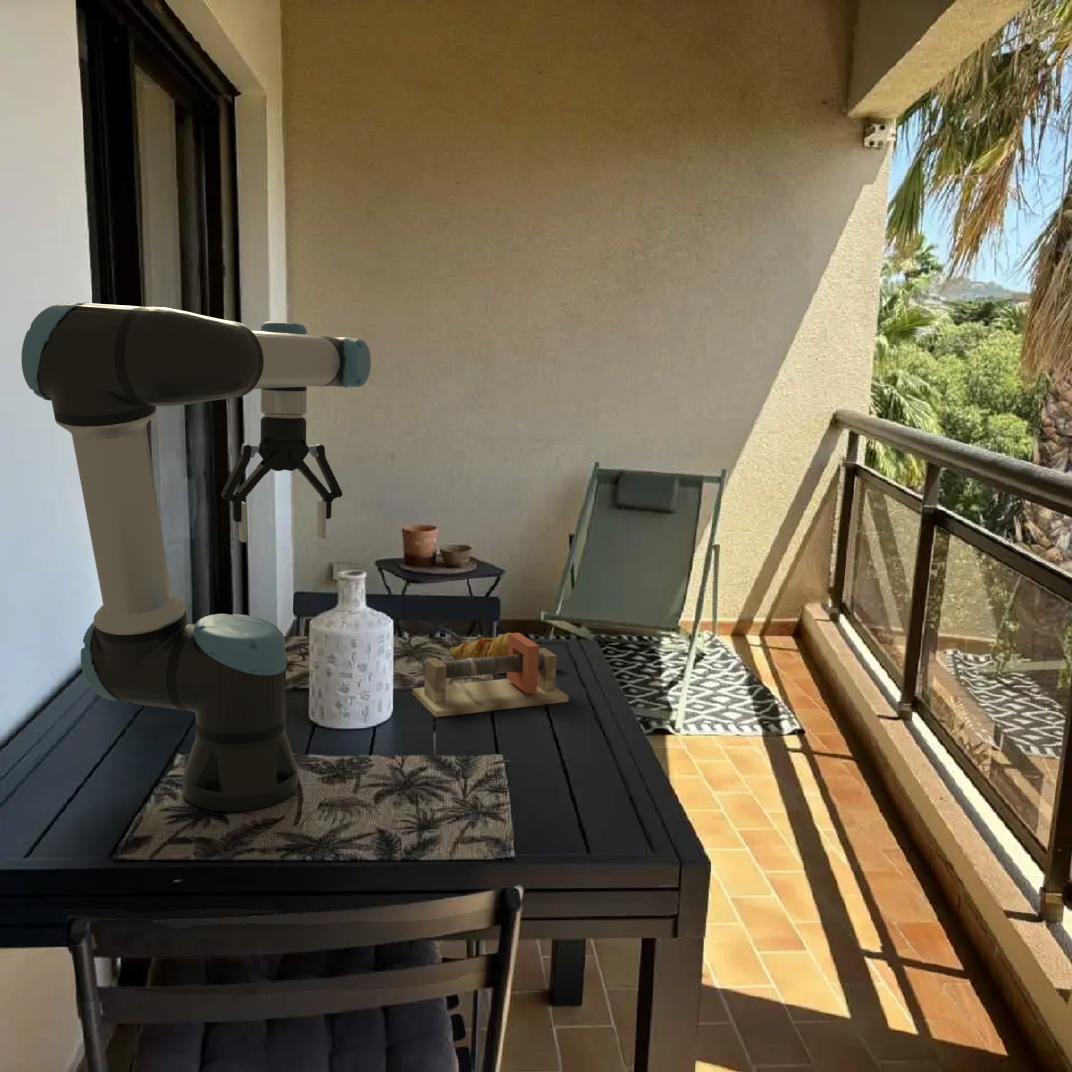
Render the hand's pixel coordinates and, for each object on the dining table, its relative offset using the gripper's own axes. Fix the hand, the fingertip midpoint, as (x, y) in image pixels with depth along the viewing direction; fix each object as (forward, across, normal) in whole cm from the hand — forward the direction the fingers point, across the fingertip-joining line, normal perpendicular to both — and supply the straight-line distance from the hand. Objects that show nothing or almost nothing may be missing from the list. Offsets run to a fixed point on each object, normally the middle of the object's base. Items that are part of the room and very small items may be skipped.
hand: (282, 539), depth 174 cm
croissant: (+27, -43, +2) cm, 51 cm away
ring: (+25, -38, +18) cm, 49 cm away
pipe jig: (+27, -32, +18) cm, 46 cm away
